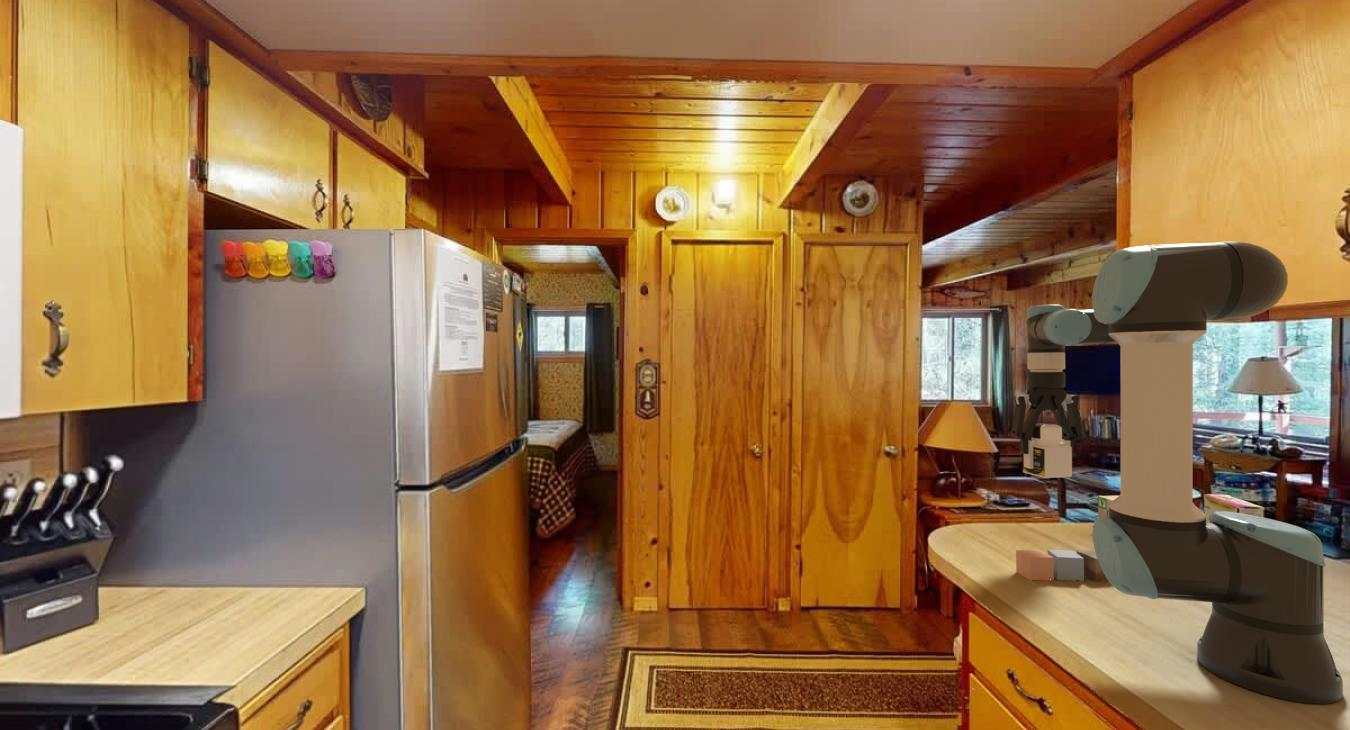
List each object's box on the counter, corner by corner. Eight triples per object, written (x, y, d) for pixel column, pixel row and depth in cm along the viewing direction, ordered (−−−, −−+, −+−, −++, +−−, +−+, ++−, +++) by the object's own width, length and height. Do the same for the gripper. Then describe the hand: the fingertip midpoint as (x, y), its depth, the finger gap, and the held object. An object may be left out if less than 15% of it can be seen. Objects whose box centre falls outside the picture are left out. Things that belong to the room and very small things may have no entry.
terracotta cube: (1053, 580, 123) (1053, 557, 123) (1030, 581, 123) (1030, 557, 123) (1038, 571, 128) (1038, 549, 128) (1016, 572, 128) (1016, 550, 128)
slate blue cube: (1084, 581, 122) (1083, 558, 122) (1057, 580, 123) (1057, 557, 123) (1073, 573, 127) (1072, 550, 127) (1047, 571, 128) (1047, 549, 128)
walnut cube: (1117, 580, 123) (1117, 557, 123) (1095, 582, 122) (1095, 558, 122) (1097, 572, 128) (1097, 549, 128) (1076, 573, 127) (1076, 550, 127)
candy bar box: (1202, 565, 130) (1202, 493, 130) (1228, 567, 129) (1228, 494, 129) (1238, 584, 119) (1237, 505, 119) (1267, 586, 118) (1266, 506, 118)
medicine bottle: (1022, 472, 139) (1021, 422, 139) (1049, 471, 140) (1048, 422, 140) (1044, 478, 132) (1043, 426, 132) (1072, 477, 133) (1072, 425, 133)
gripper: (1080, 370, 139) (1081, 464, 139) (993, 371, 140) (994, 464, 140) (1102, 370, 131) (1103, 470, 132) (1009, 371, 133) (1010, 470, 133)
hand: (1046, 467), depth 136 cm, fingers closed on medicine bottle, 8 cm apart
